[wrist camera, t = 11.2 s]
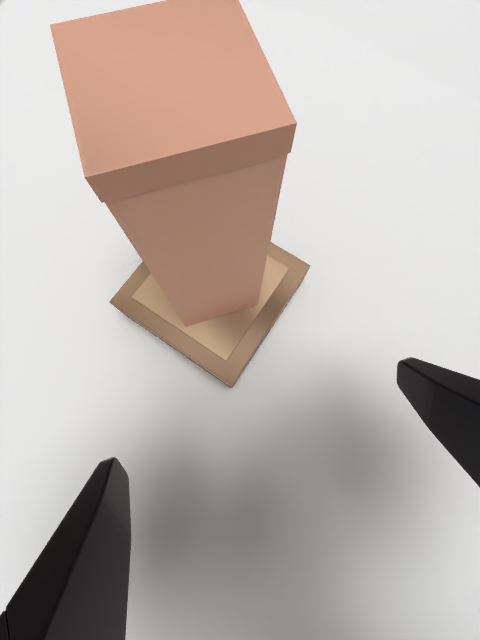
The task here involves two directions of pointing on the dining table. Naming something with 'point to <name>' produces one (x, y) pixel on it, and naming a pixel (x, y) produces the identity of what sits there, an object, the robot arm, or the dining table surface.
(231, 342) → the base block
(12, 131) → the dining table surface
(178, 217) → the terracotta block
